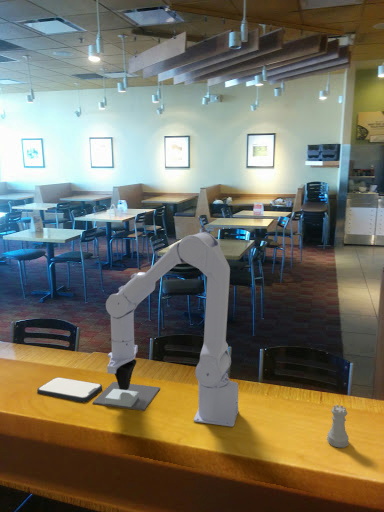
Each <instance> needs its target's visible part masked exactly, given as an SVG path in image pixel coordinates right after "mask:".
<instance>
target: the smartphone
mask: <svg viewBox="0 0 384 512" xmlns="http://www.w3.org/2000/svg"><path fill="white" fill-rule="evenodd" d="M102 390H103V385H102V384H100V383H96V382H90V381H85V380H76V379H71V378H64V377H54V378H53V379H51V380H49V381H48V382H46V383H44V384H43V385H41V386H39V387H38V388H37V394H40V395H44V396H49V397H54V398H58V399H64V400H70V401H74V402H79V403H86V402H88V401H90V400H91V399H92V398H94V397H95V396H96V395H97V394H98V393H101V392H102Z"/></svg>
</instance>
